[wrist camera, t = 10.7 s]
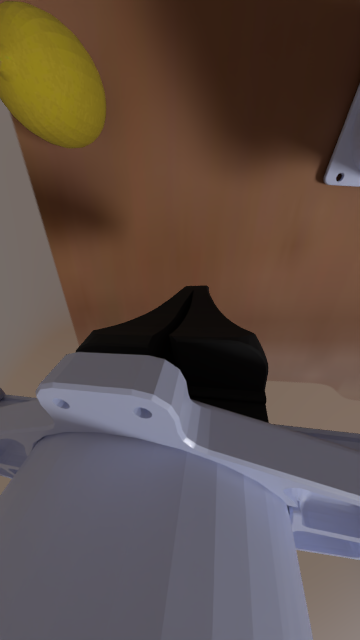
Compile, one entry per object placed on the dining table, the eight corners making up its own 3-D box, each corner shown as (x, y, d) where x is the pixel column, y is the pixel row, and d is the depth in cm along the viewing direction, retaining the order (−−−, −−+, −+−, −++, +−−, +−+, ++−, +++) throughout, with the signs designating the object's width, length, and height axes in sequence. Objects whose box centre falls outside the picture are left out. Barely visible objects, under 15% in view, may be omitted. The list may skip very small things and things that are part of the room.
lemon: (43, 66, 15) (-95, -19, 8) (109, 39, 14) (5, -85, 7) (75, 159, 18) (-8, 149, 11) (132, 145, 17) (73, 124, 10)
